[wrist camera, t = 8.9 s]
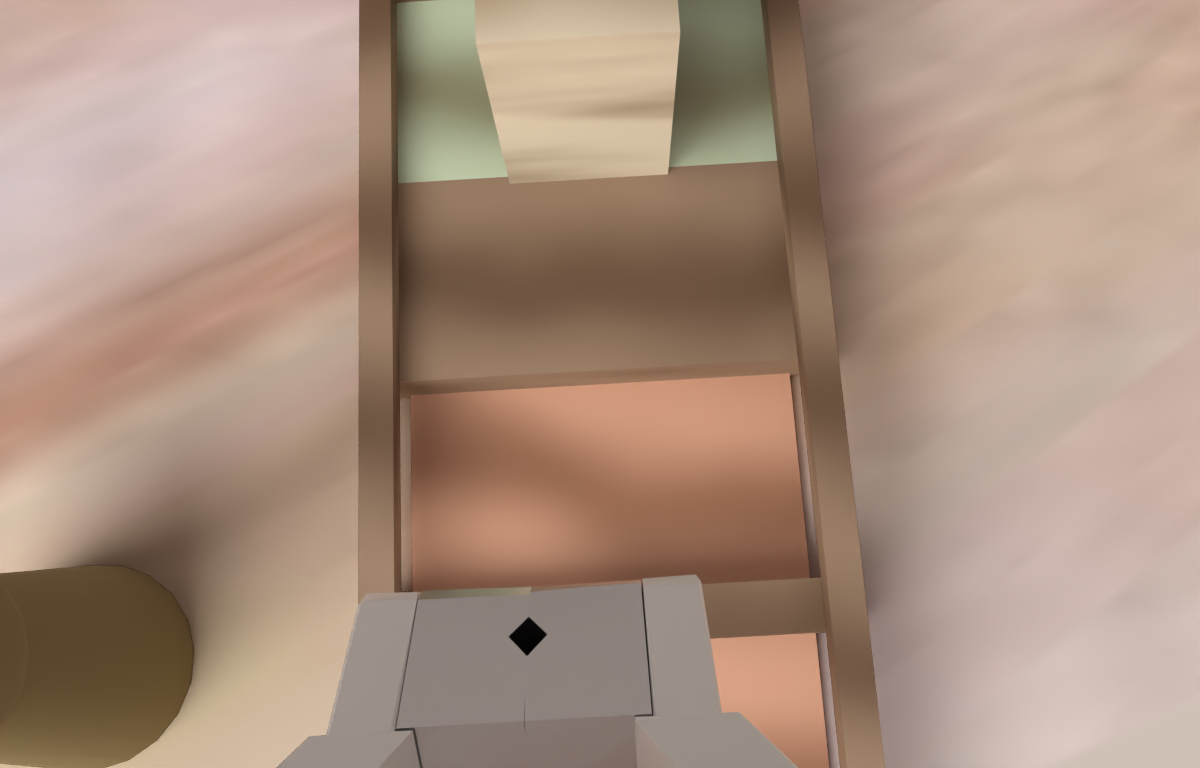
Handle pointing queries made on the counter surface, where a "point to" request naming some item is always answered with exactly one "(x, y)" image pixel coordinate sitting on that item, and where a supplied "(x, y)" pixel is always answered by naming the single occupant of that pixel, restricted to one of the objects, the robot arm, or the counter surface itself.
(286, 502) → the counter surface
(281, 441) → the counter surface
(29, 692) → the cork
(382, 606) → the robot arm
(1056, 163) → the counter surface
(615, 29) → the birch block
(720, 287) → the trap box
